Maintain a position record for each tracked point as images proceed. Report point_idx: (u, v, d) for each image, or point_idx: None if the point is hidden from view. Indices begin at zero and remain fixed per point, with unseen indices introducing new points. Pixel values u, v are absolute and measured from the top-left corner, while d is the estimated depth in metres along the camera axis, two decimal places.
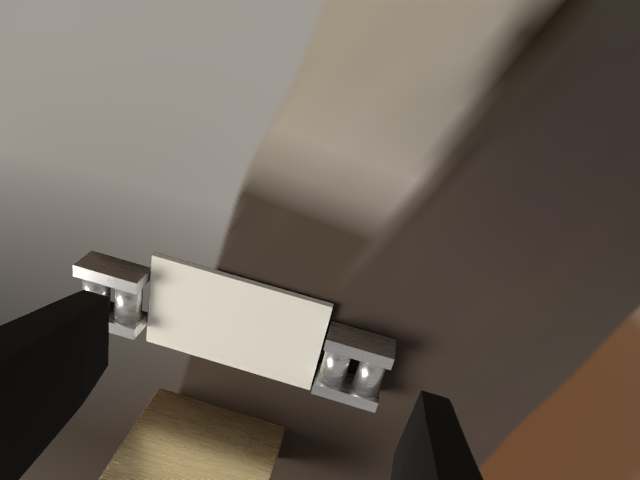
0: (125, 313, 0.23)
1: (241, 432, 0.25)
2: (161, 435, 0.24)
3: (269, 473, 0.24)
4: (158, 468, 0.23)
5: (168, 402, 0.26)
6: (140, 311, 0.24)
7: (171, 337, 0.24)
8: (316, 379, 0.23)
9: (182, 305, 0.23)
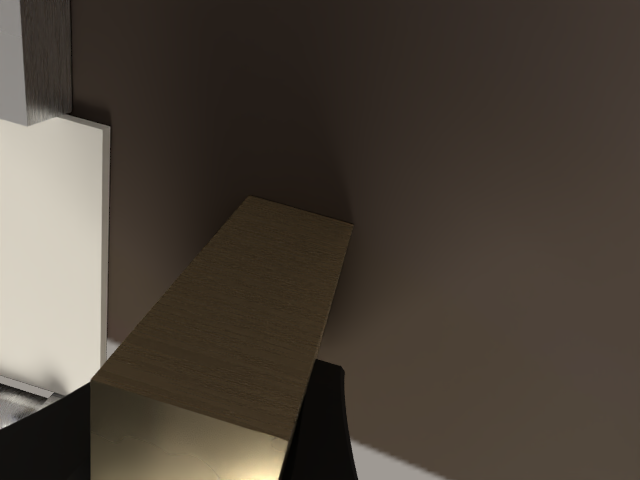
0: None
1: None
2: None
3: (195, 259, 0.09)
4: None
5: None
6: (27, 400, 0.15)
7: (78, 368, 0.14)
8: None
9: (8, 336, 0.14)
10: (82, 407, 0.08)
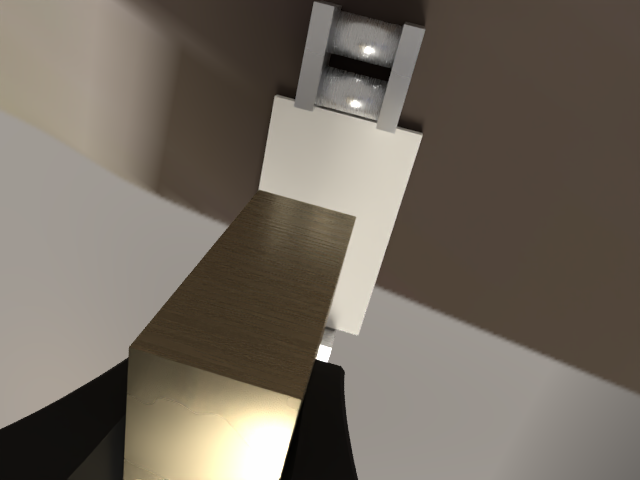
0: None
1: None
2: None
3: (213, 246, 0.09)
4: None
5: None
6: None
7: (349, 306, 0.20)
8: None
9: None
10: (82, 406, 0.08)
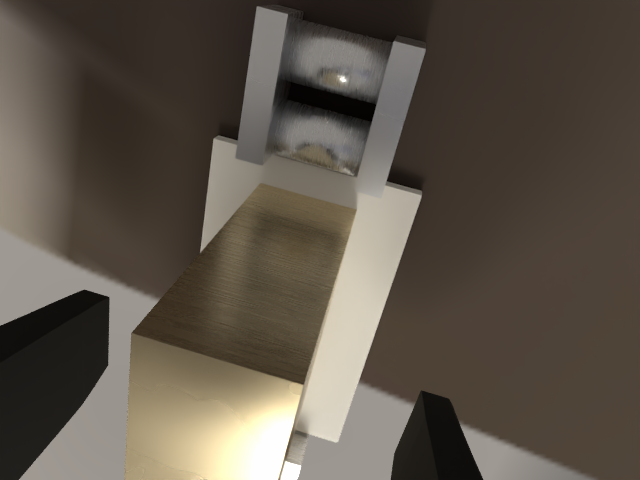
0: None
1: None
2: None
3: None
4: None
5: None
6: None
7: (325, 407, 0.15)
8: None
9: None
10: None
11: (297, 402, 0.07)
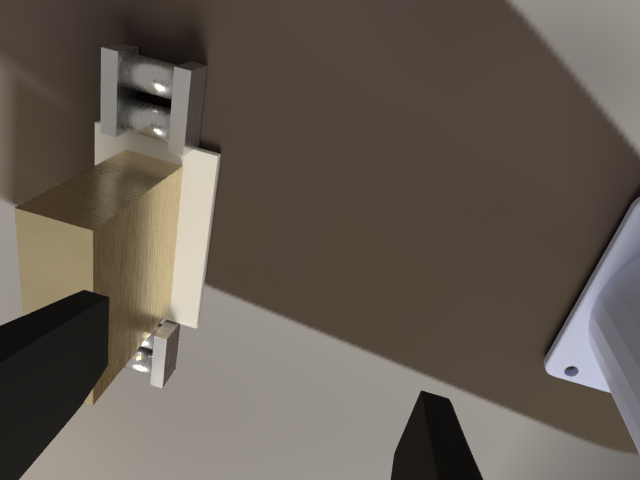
0: None
1: None
2: None
3: (79, 175, 0.17)
4: None
5: None
6: None
7: (185, 302, 0.22)
8: None
9: None
10: None
11: (92, 240, 0.14)
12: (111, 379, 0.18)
